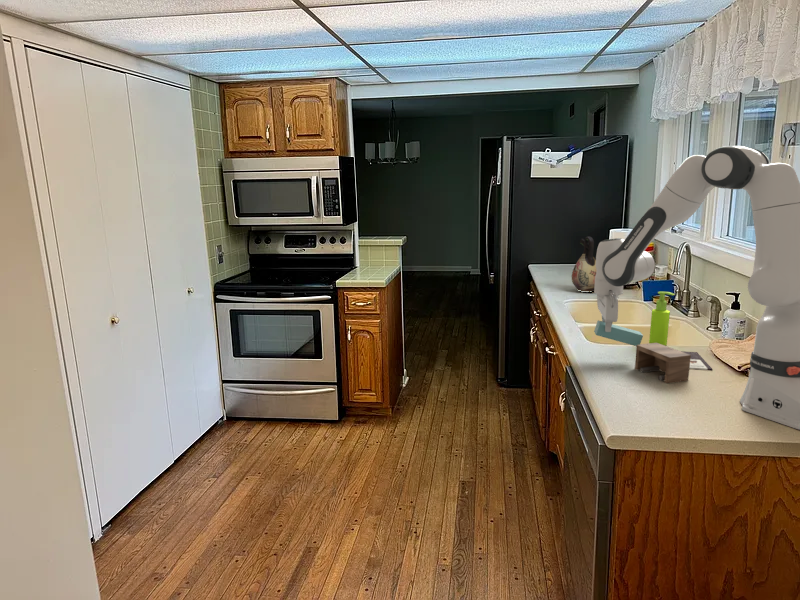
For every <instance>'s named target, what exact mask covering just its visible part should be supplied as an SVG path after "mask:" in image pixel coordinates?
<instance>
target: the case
mask: <svg viewBox="0 0 800 600" xmlns="http://www.w3.org/2000/svg"><path fill="white" fill-rule="evenodd" d="M593 332H594V334H595V335H596V336H598V337H601V338H606V339H609V340H612V341H616V342H620V343H622V344H623V343H624V344H627V345H630V346H633V347H637V345H640V344H641V343H642V340H643V337H644V334H642V332H641V331H638V330H635V329H630V328H628V327H624V326H620V325H616V324H613V323H612V326H611V332H606V331H605V322H602V320H599V319H598V320H596V324H595V327H594V331H593Z"/></svg>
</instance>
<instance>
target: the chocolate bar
mask: <svg viewBox="0 0 800 600" xmlns="http://www.w3.org/2000/svg"><path fill="white" fill-rule="evenodd" d="M680 351H681V350H680ZM681 352H684V353H686V354H689V355H691V358H690V368H689V370H700V371H713V368H712V367H711V365H710V364H709V363H708V362H707V361H706V360H705V359H704V357H702V356H701V355H700V354H699V352H697V351H684V350H682V351H681Z"/></svg>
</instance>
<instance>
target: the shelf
mask: <svg viewBox="0 0 800 600" xmlns="http://www.w3.org/2000/svg"><path fill="white" fill-rule="evenodd" d="M635 348H636V350H635V352H636V353H635V363H634V369H635V370H636V371H639V370H640V372H641V373H646V372H654V371H661V372H662V373H665V374H663V375H658V380H659V381H664V383H666V384H672V383H680V382H688V381H689V376H690V369H689V368H690V358H691V355H689V354H686V353H684V352H681V350H678V349H676V348H672V347H669V346H665V345H662V344H659V343H649V342H648V343H642V344H641V343H640V345H637V346H636V347H635Z"/></svg>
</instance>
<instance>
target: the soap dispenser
mask: <svg viewBox="0 0 800 600" xmlns="http://www.w3.org/2000/svg"><path fill="white" fill-rule="evenodd" d="M657 294H658V295H659V299H658V300H656V302H655V303H656V306H655V308H654V309H652V310H651V318H650V326H649V327H650V330H649V339H648V344H649V343H659V344H662V345H665V346H667V345H668V334H669V327H670V314H671V311H670V310H668V309H667V308H668V307H667V304H668V301H667V300H665V299H666V295H669V296H672V297H673V296H675V295H676V293H673V292H670V291H657ZM667 347H668V346H667Z"/></svg>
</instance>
